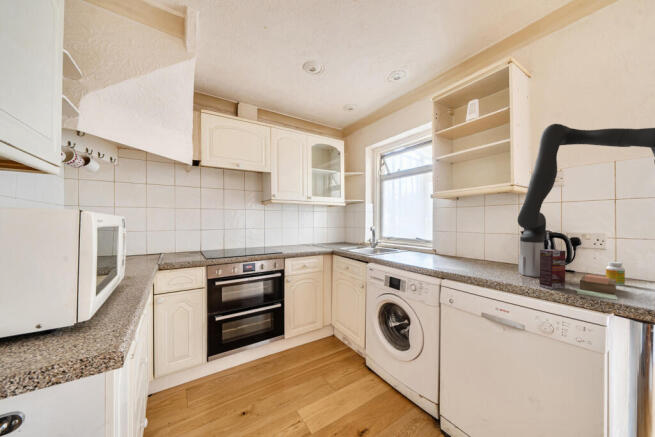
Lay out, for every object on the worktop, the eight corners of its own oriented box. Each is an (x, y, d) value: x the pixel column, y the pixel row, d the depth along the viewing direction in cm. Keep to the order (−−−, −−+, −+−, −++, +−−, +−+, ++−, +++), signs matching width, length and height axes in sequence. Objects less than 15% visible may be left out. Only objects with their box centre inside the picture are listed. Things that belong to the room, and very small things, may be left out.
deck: (584, 284, 105) (584, 275, 105) (615, 289, 98) (615, 279, 98) (579, 289, 96) (579, 280, 96) (614, 295, 89) (614, 284, 89)
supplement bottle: (619, 286, 103) (619, 263, 103) (602, 282, 108) (602, 261, 108) (628, 285, 104) (628, 263, 104) (611, 282, 109) (611, 261, 109)
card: (586, 279, 98) (586, 274, 98) (609, 282, 93) (609, 277, 93) (585, 281, 95) (585, 276, 95) (608, 284, 90) (608, 279, 90)
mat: (577, 293, 91) (577, 292, 91) (577, 290, 96) (577, 289, 96) (617, 300, 84) (617, 299, 84) (615, 295, 89) (615, 295, 89)
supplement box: (552, 289, 97) (552, 251, 97) (538, 286, 101) (538, 249, 101) (566, 288, 99) (566, 250, 99) (552, 284, 104) (552, 248, 104)
